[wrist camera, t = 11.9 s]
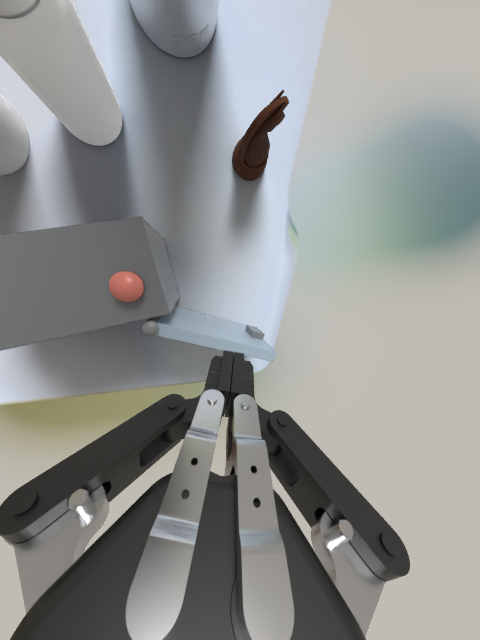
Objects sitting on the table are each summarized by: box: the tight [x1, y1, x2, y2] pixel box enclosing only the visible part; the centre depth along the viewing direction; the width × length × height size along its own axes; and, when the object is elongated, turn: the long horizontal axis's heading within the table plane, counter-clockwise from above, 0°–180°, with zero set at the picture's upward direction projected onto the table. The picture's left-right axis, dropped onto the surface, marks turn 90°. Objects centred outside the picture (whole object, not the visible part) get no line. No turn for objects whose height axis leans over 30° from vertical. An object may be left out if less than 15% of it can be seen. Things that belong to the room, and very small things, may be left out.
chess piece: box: [232, 90, 289, 181], centre depth 22 cm, size 5×5×10 cm
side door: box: [142, 306, 276, 361], centre depth 24 cm, size 2×14×11 cm, turn 71°
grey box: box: [0, 216, 180, 351], centre depth 20 cm, size 8×18×13 cm, turn 100°
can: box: [0, 0, 122, 146], centre depth 16 cm, size 6×6×12 cm
